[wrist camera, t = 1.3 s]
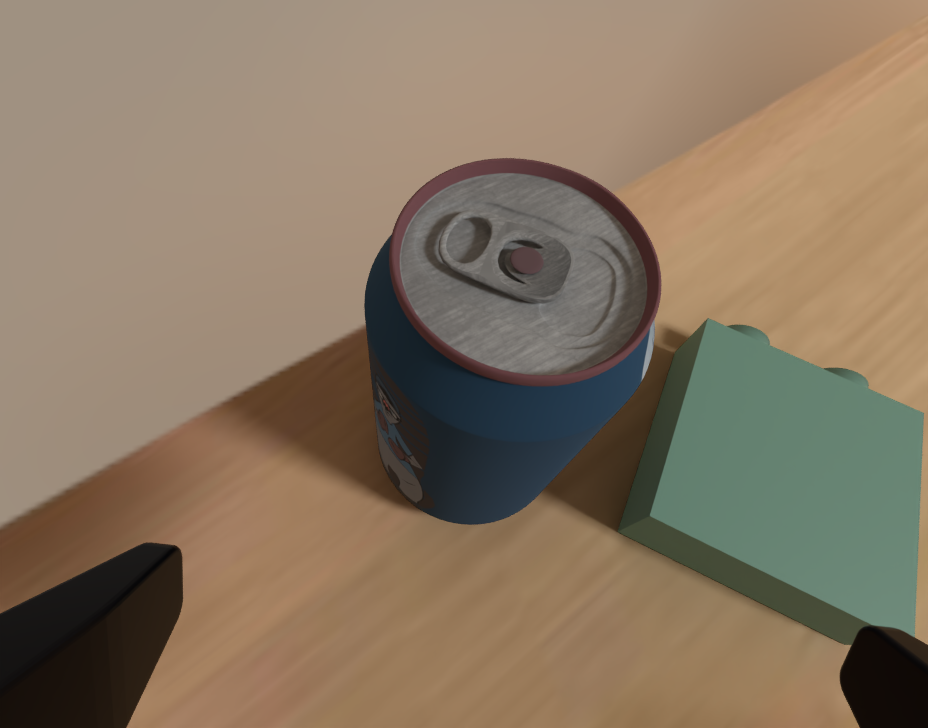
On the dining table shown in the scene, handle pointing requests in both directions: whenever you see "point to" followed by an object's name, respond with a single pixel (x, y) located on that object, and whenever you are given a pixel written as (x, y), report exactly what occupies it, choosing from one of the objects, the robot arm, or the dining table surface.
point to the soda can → (504, 332)
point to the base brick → (783, 483)
